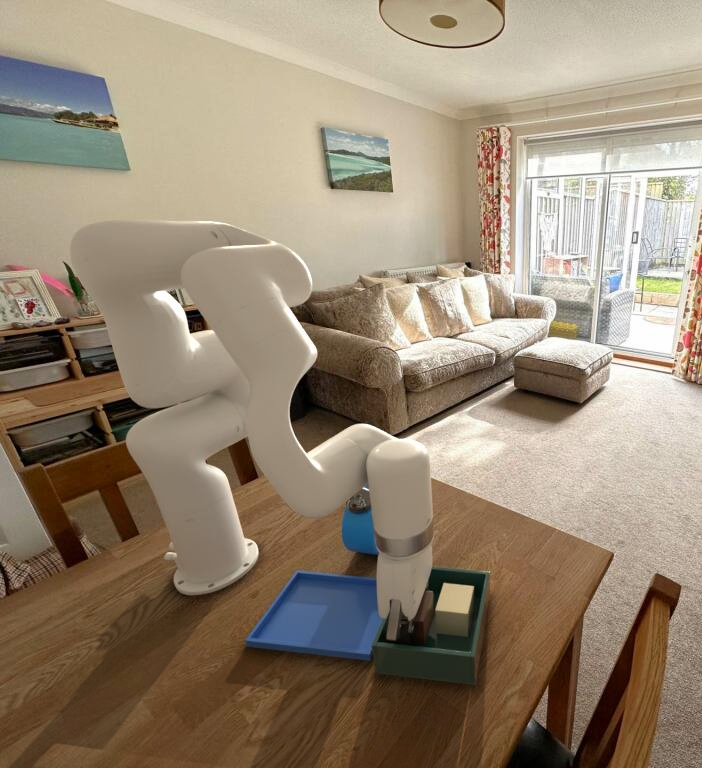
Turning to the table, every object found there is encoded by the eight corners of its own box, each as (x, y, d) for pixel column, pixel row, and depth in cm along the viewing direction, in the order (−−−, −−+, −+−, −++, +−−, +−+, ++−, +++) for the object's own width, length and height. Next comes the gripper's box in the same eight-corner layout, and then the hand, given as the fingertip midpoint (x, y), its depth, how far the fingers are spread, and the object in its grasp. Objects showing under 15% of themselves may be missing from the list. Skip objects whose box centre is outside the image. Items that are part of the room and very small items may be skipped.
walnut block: (390, 642, 58) (388, 617, 56) (402, 611, 62) (400, 587, 61) (425, 646, 57) (423, 621, 56) (434, 614, 62) (433, 591, 60)
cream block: (436, 633, 62) (434, 610, 60) (444, 605, 67) (443, 582, 65) (468, 637, 62) (467, 613, 60) (474, 608, 66) (474, 586, 64)
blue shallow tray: (247, 648, 60) (244, 640, 59) (298, 577, 72) (296, 570, 71) (370, 662, 58) (369, 654, 58) (401, 587, 70) (401, 580, 70)
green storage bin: (375, 675, 57) (371, 645, 54) (408, 590, 70) (406, 563, 68) (475, 686, 56) (474, 657, 53) (489, 598, 69) (490, 571, 67)
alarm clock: (376, 571, 73) (367, 504, 68) (344, 567, 74) (333, 500, 69) (404, 522, 85) (398, 462, 80) (377, 519, 86) (369, 459, 81)
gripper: (399, 488, 61) (407, 577, 68) (346, 580, 46) (364, 684, 52) (448, 492, 61) (451, 582, 67) (411, 586, 45) (420, 691, 52)
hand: (413, 625), depth 60 cm, fingers closed on walnut block, 5 cm apart
